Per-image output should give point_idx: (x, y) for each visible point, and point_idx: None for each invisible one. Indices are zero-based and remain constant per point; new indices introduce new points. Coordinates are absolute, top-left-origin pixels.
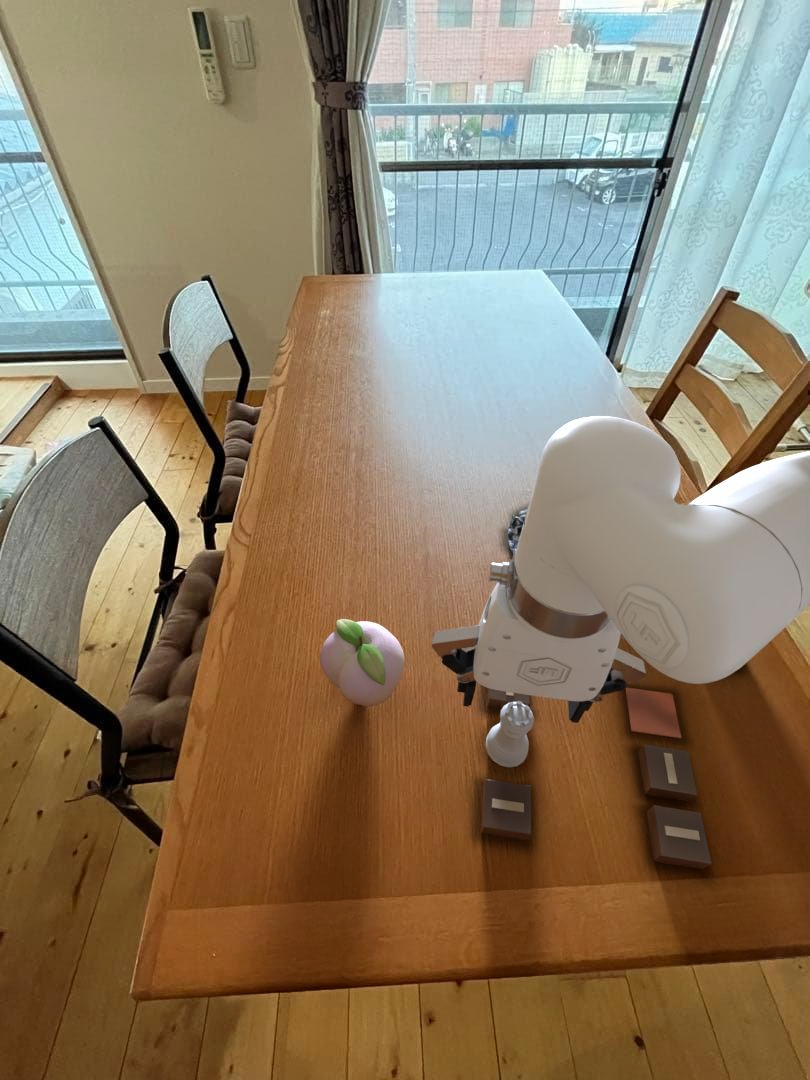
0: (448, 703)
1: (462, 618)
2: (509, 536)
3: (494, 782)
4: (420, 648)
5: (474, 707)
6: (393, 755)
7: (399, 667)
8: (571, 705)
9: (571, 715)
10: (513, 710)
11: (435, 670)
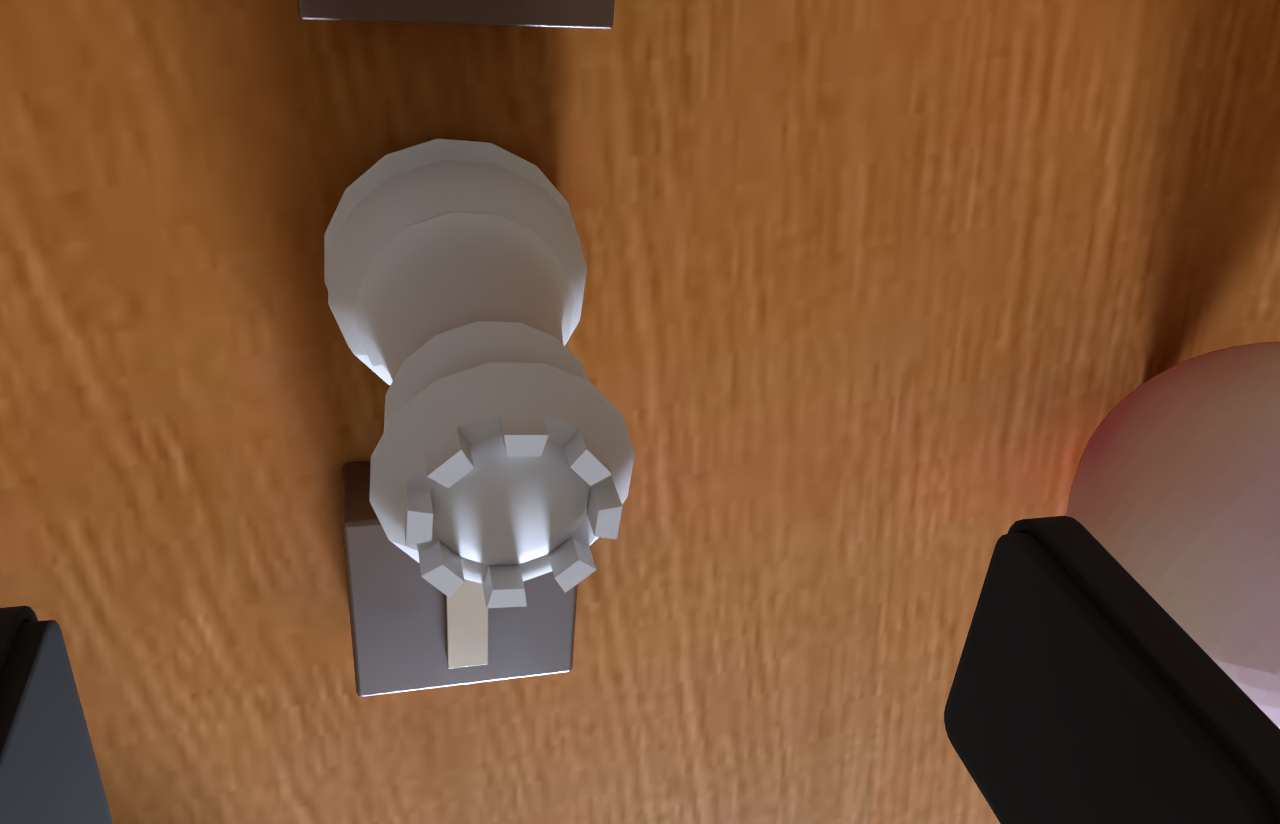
0: (761, 424)
1: (677, 796)
2: None
3: (553, 12)
4: (872, 633)
5: (629, 432)
6: (1059, 114)
7: (1191, 595)
8: (51, 789)
9: (34, 691)
10: (548, 528)
11: (813, 559)
